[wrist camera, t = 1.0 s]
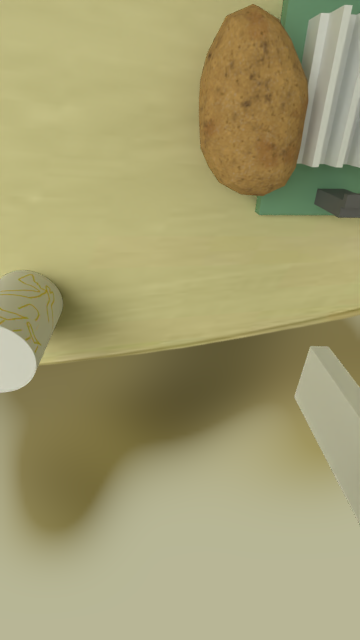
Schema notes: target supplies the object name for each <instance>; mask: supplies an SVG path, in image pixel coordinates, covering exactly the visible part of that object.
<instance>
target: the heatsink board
mask: <svg viewBox="0 0 360 640" xmlns="http://www.w3.org/2000/svg"><path fill="white" fill-rule="evenodd" d="M281 24H282V26H283V27H284V29H285V30H286V32H287V33H288V35H289V36H290V38H291V40H292V43H293V45H294V48H295V50H296V53H297V55H298V58H299V60H300V63H301V65H302V68H303V70H304V73H305V76H306V78H307V81H308V99H309V101H308V106H307V112H306V117H305V122H304V129H303V135H302V141H301V147H300V151H299V155H298V160H297V164H296V168H295V170H294V171H293V173H292V175H291V176H290V178H289V180H288V181H287V183H286V184H285V186H283V187H281V188H279V189H276V190H274V191H272V192H270V193H268V194H266V195H264V196H257V203H256V210H255V212H256V213H257V214H259V215H335V216H337V217H345V218H360V0H283V7H282V15H281Z"/></svg>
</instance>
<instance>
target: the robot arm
mask: <svg viewBox="0 0 360 640" xmlns="http://www.w3.org/2000/svg"><path fill="white" fill-rule="evenodd" d="M295 399H296V401H297V403H298V405H299V407H300V409H301V411H302V413H303V415H304V417H305V419H306V421H307V423H308V424H309V426H310V429H311V431H312V432H313V434H314V436H315V438H316V440H317V442H318V444H319V446H320V448H321V450H322V452H323V454H324V456H325V458H326V460H327V462H328V464H329V466H330V468H331V470H332V471H333V474H334V476H335V478H336V479H337V482H338V483H339V485H340V487H341V489H342V491H343V493H344V495H345V497H346V499H347V501H348V503H349V505H350V507H351V509H352V511H353V513H354V515H355V517H356V519H357V521H358V523H359V525H360V387H359V386H358V385H357V383H356V382H355V381H354V379H353V378H352V377H351V375H350V374H349V373H348V371H347V370H346V369H345V368H344V366H343V365H342V364H341V362H340V361H339V360H338V358H337V357H336V356H335V354H334V353H333V352H332V351H331V349H330V348H329V347H328V346H310V349H309V352H308V355H307V358H306V362H305V365H304V368H303V371H302V374H301V377H300V381H299V384H298V387H297V390H296V393H295Z"/></svg>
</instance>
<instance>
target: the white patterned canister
mask: <svg viewBox="0 0 360 640" xmlns="http://www.w3.org/2000/svg"><path fill="white" fill-rule="evenodd" d="M62 309H63V300H62V296H61V293H60V291H59V290H58V288H57V287H56V286H55V284H54V283H53V282H52V281H50V280H49V279H48V278H46V277H45V276H43V275H41V274H39V273H36V272H32V271H26V270H19V271H13V272H10V273H8V274H6V275H4V276H3V277H2V278H1V279H0V392H9V391H13V390H17V389H19V388H21V387H23V386H25V385H26V384H27V383H29V382H30V380H31V379H32V378H33V376H34V374H35V372H36V369H37V367H38V365H39V363H40V360H41V358H42V356H43V354H44V351H45V349H46V347H47V344H48V342H49V340H50V338H51V335H52V333H53V331H54V329H55V326H56V324H57V322H58V319H59V317H60V315H61V313H62Z"/></svg>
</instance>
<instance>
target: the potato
mask: <svg viewBox="0 0 360 640" xmlns="http://www.w3.org/2000/svg"><path fill="white" fill-rule="evenodd" d="M308 101H309V99H308V81H307V78H306V76H305V73H304V70H303V68H302V65H301V63H300V60H299V58H298V55H297V53H296V50H295V48H294V45H293V43H292V40H291V38H290V36H289V35H288V33H287V32H286V30H285V29H284V27H283V26H282V24H281V22H280V21H279V19H277V18H276V17H274V16H273V15H271V14H269V13H268V12H266V11H265V10H263V9H262V8H260V7H259V6H256V5H254V4H252V5H250V6H248V7H245V8H243V9H241V10H239V11H236V12H234V13H232V14H230V15H227V16H226V18H225V20H224V22H223V23H222V25H221V27H220V29H219V31H218V33H217V35H216V37H215V39H214V41H213V43H212V45H211V47H210V49H209V51H208V53H207V56H206V60H205V64H204V68H203V72H202V76H201V80H200V95H199V126H200V144H201V150H202V152H203V154H204V157H205V159H206V161H207V164H208V166H209V168H210V169H211V171H212V172H213V174H214V175H215V177H216V178H217V180H218V181H219V182H220V183H221V184H223V185H225V186H227V187H229V188H230V189H232V190H234V191H236V192H238V193H240V194H245V195H257V196H264V195H266V194H268V193H270V192H272V191H274V190H276V189H279V188H281V187H283V186H285V184H286V183H287V181H288V180H289V178H290V176H291V175H292V173H293V171H294V170H295V168H296V164H297V160H298V155H299V151H300V147H301V141H302V135H303V129H304V122H305V117H306V112H307V106H308Z"/></svg>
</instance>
